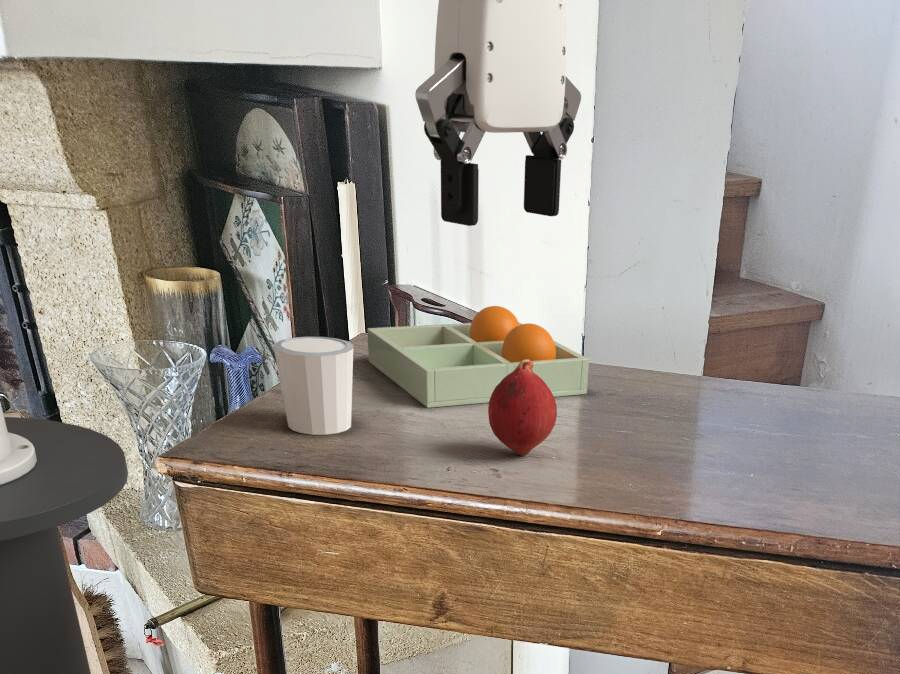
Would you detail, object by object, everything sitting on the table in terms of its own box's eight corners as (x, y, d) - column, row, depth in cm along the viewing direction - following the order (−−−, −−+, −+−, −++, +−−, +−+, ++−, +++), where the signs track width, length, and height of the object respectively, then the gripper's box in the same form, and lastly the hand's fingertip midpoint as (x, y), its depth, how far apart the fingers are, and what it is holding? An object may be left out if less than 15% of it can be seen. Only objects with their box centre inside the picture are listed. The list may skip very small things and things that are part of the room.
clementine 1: (481, 368, 111) (482, 313, 108) (461, 355, 115) (461, 301, 112) (528, 365, 113) (530, 310, 110) (507, 352, 117) (508, 299, 114)
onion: (525, 471, 87) (529, 373, 82) (473, 454, 89) (474, 358, 85) (567, 455, 91) (572, 361, 86) (516, 440, 93) (519, 347, 89)
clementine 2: (515, 389, 105) (516, 331, 102) (492, 375, 109) (493, 319, 106) (563, 385, 107) (566, 328, 104) (539, 371, 111) (542, 316, 108)
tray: (427, 408, 100) (426, 370, 98) (368, 362, 112) (367, 328, 110) (586, 394, 107) (589, 359, 105) (514, 352, 120) (515, 320, 118)
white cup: (272, 434, 91) (263, 351, 87) (291, 411, 96) (284, 332, 93) (350, 439, 91) (345, 356, 87) (365, 416, 96) (360, 337, 93)
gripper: (543, -49, 78) (534, 205, 88) (376, -76, 66) (387, 220, 76) (624, -48, 74) (605, 217, 84) (463, -76, 63) (462, 234, 72)
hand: (501, 218), depth 80 cm, fingers open, 9 cm apart
